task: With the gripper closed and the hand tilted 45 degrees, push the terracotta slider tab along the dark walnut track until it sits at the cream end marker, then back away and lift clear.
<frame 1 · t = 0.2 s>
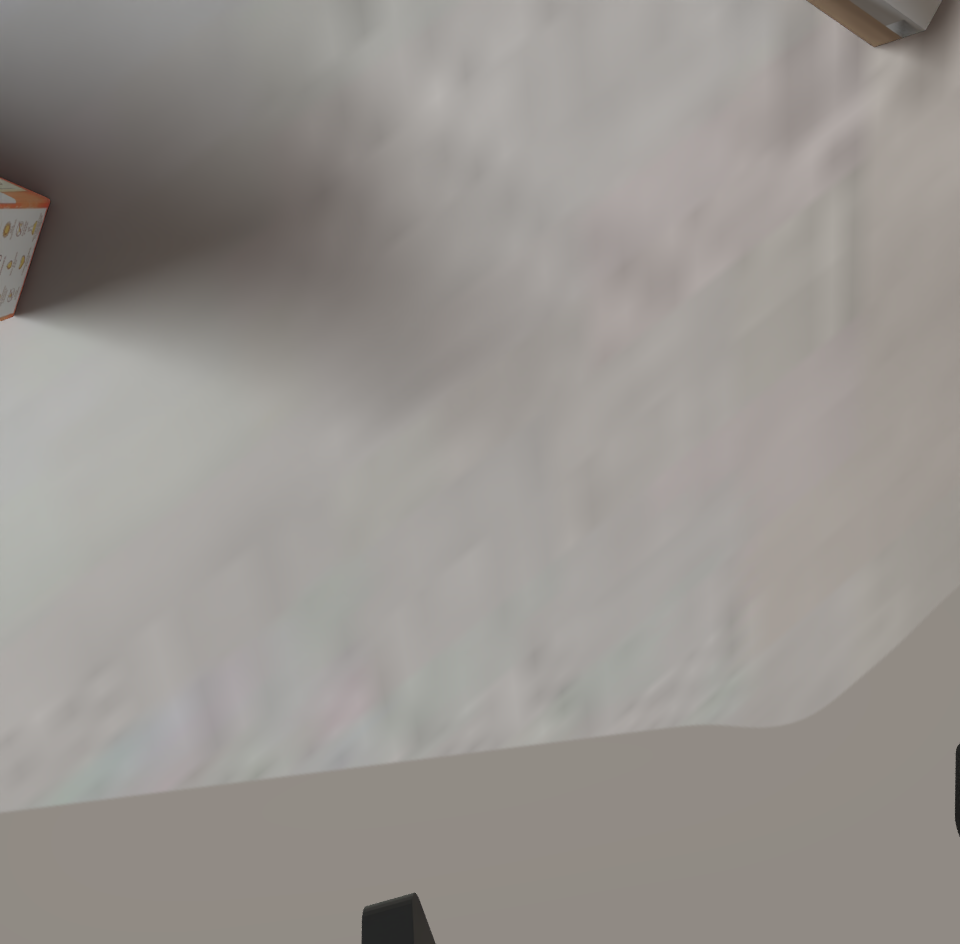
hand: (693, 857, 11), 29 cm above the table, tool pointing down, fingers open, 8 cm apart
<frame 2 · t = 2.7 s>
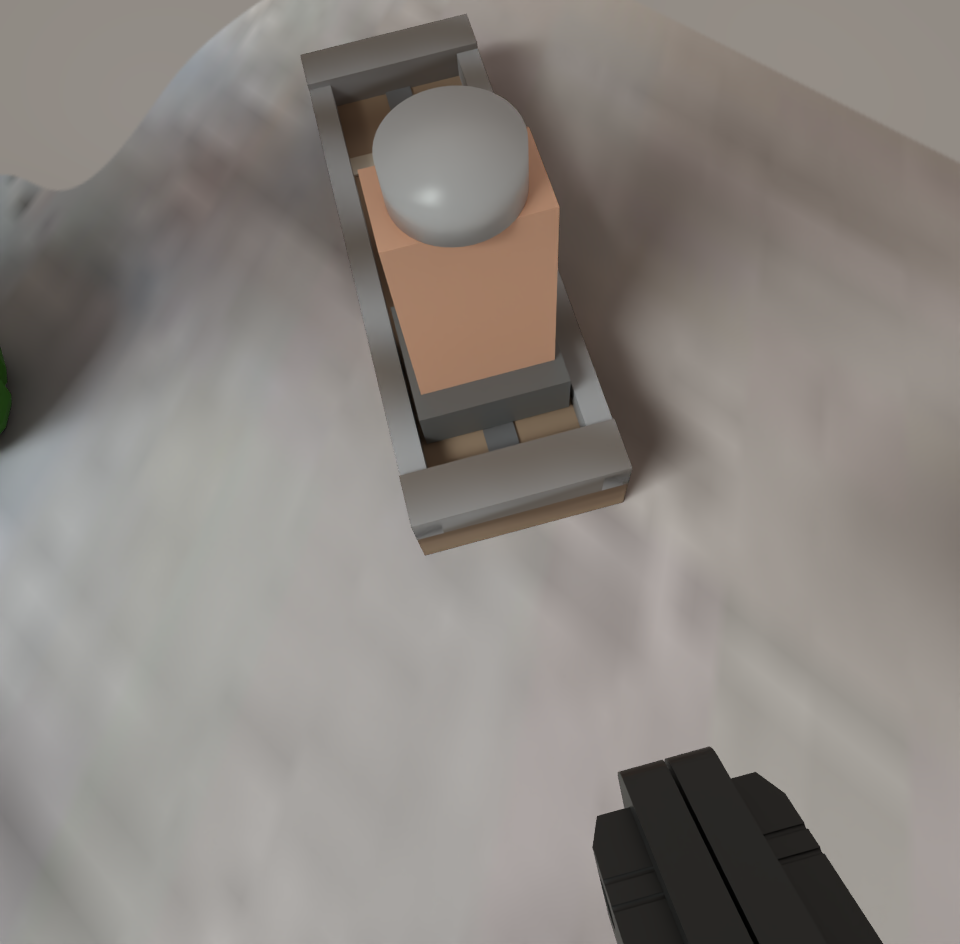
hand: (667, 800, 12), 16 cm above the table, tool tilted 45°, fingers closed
slider tab: (469, 280, 25), point 8 cm above the table, slide at -6.0 cm
fader track: (451, 283, 35), on the table
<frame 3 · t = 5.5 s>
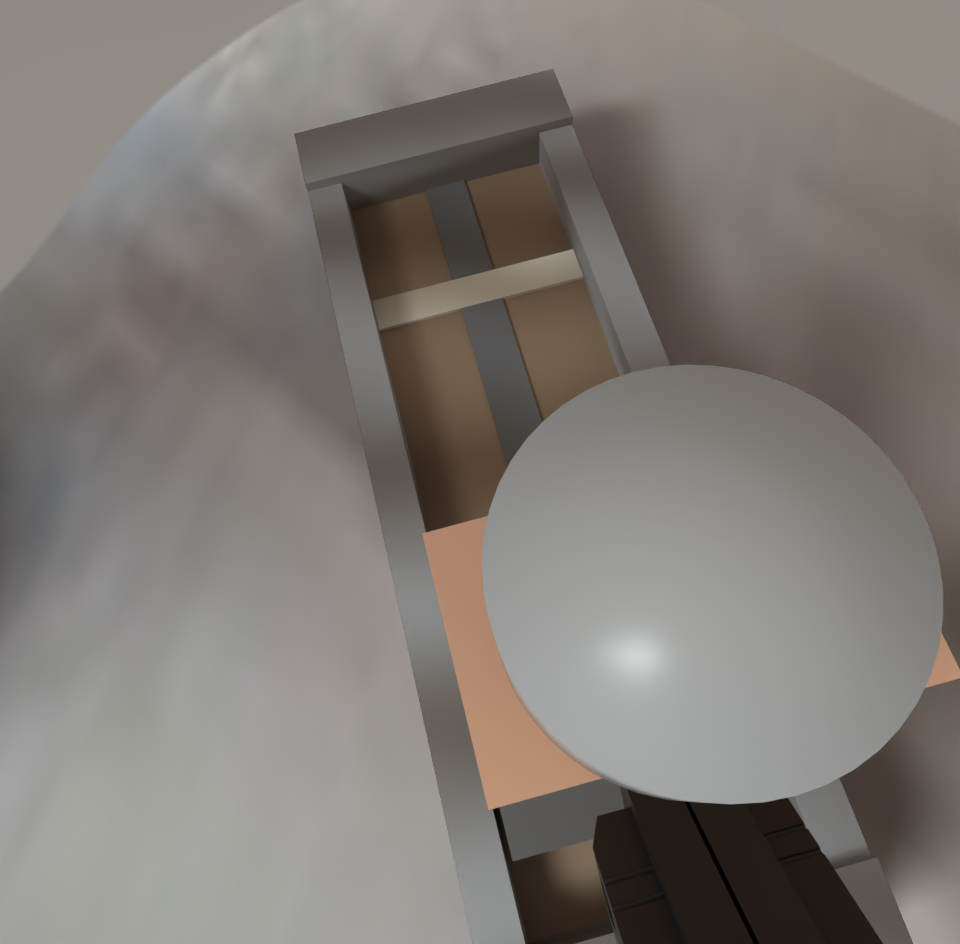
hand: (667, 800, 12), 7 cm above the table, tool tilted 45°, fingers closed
slider tab: (634, 661, 12), point 8 cm above the table, slide at -5.8 cm, touching gripper
fader track: (535, 503, 22), on the table
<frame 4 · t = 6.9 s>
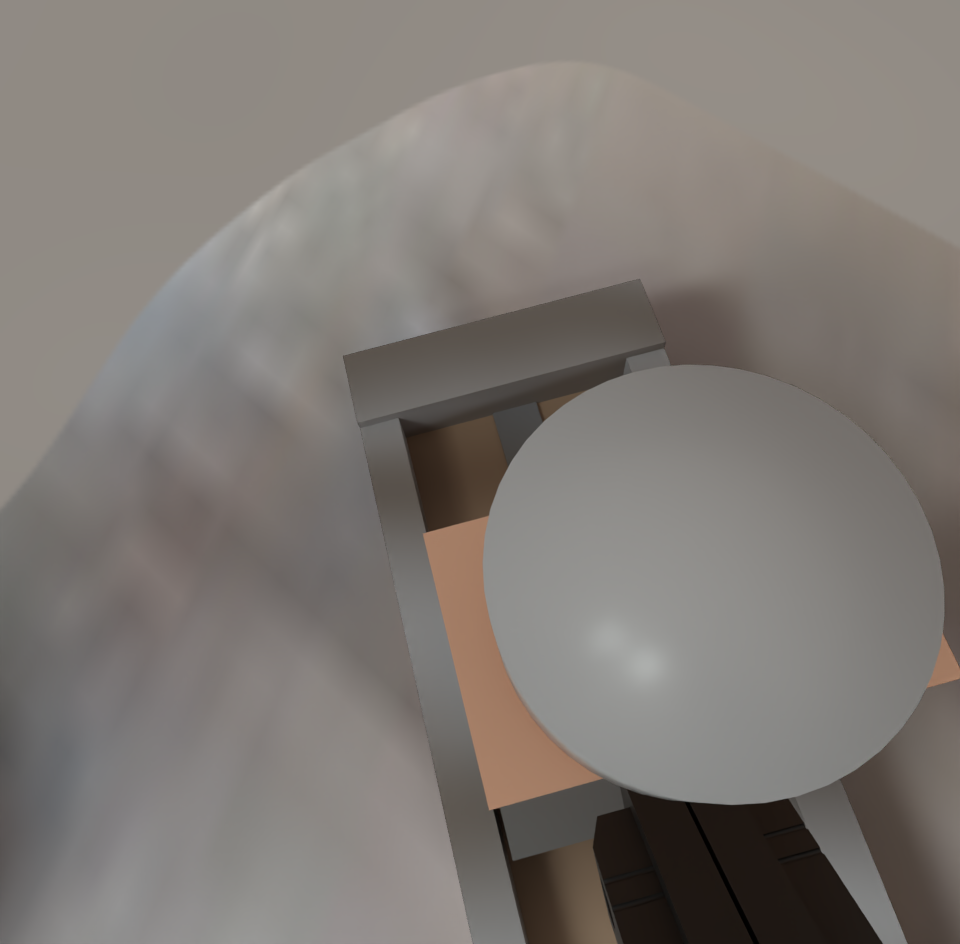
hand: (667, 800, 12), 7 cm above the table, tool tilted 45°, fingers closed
slider tab: (634, 661, 12), point 8 cm above the table, slide at 2.2 cm, touching gripper
fader track: (626, 800, 19), on the table
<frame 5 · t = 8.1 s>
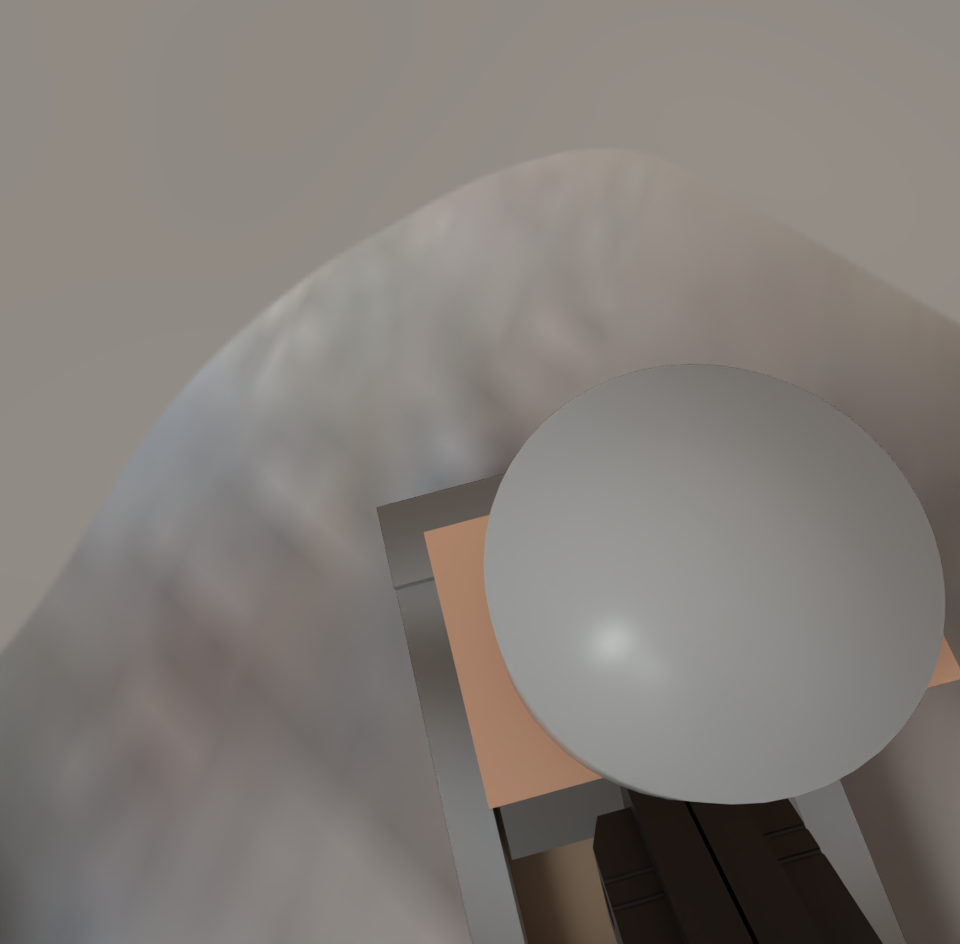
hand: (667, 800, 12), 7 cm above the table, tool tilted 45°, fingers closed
slider tab: (634, 660, 12), point 8 cm above the table, slide at 6.5 cm, touching gripper
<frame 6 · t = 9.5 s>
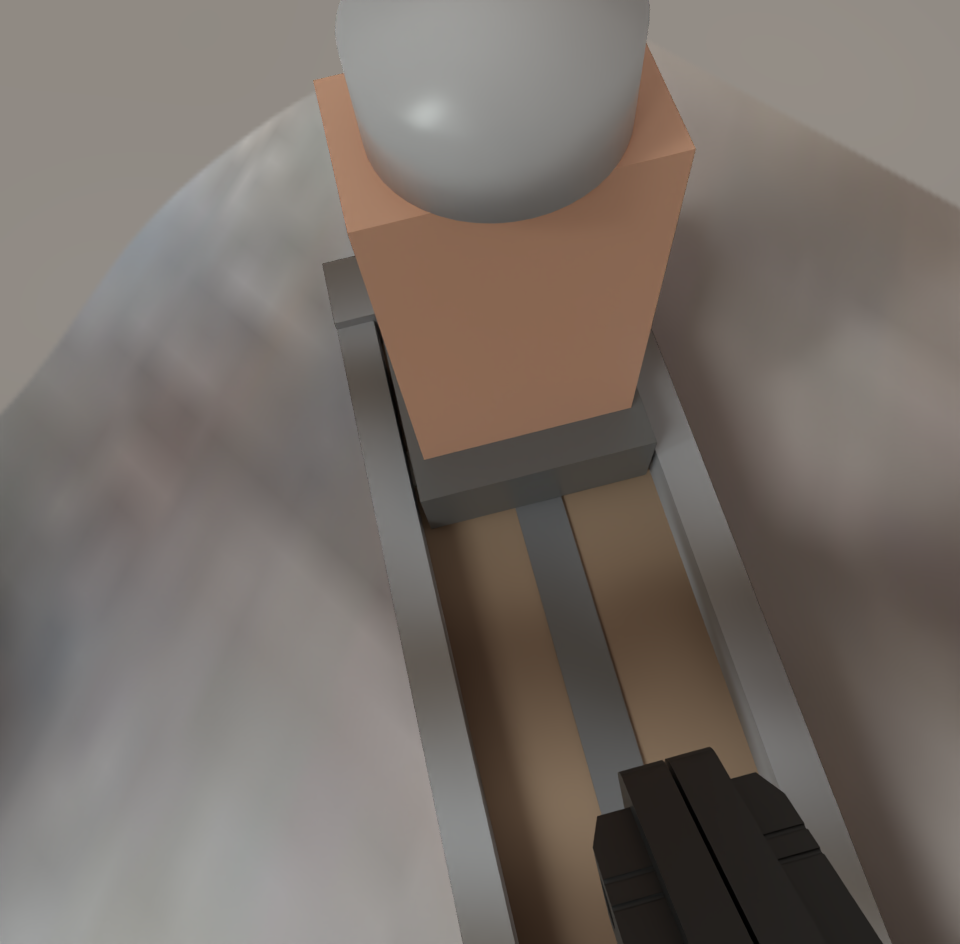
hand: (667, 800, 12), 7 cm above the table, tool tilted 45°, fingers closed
slider tab: (506, 284, 15), point 8 cm above the table, slide at 6.7 cm
fader track: (581, 677, 20), on the table
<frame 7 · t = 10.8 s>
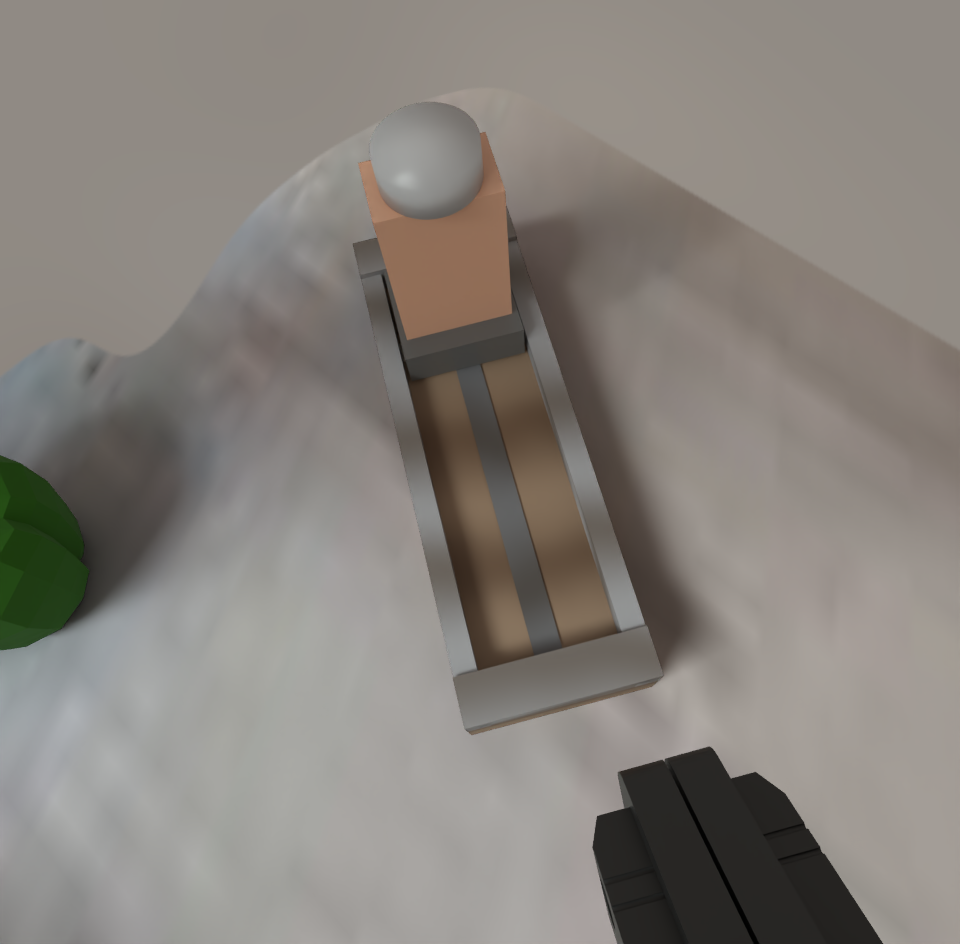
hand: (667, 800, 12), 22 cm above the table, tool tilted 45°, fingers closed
slider tab: (443, 248, 33), point 8 cm above the table, slide at 6.7 cm
bell pepper: (38, 581, 38), on the table
fader track: (492, 462, 38), on the table
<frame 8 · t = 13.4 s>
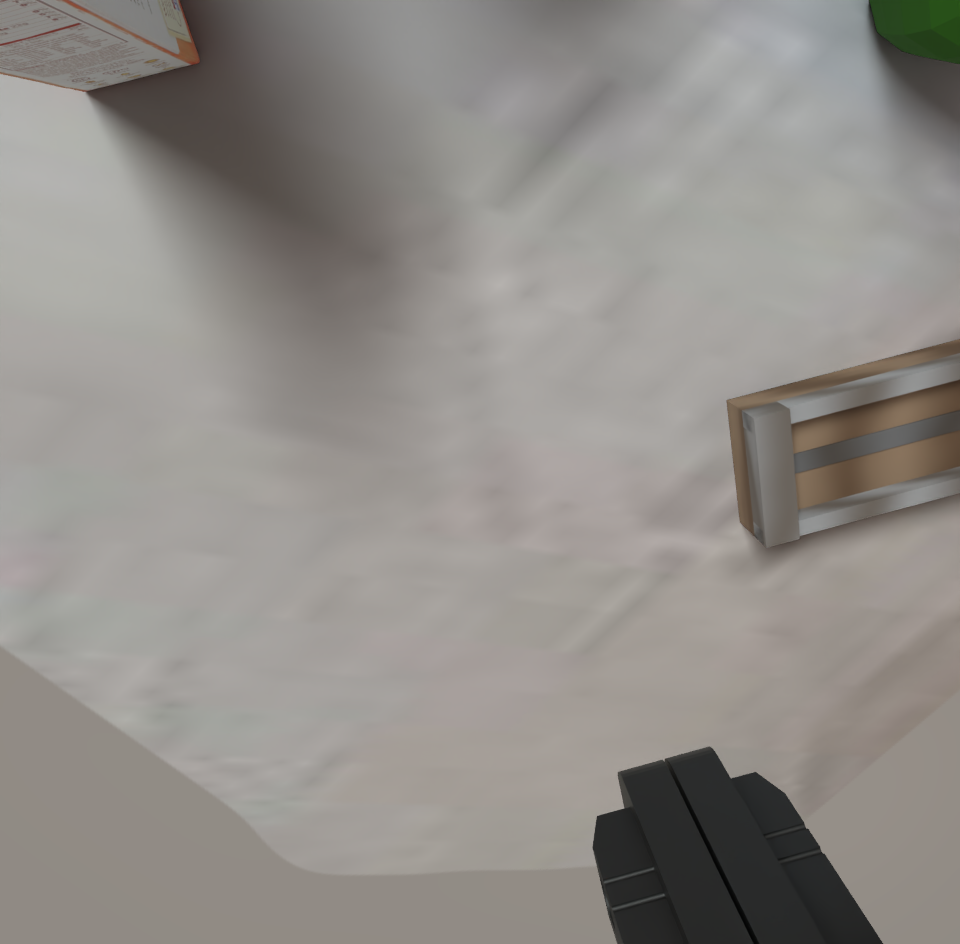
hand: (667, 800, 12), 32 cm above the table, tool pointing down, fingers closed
fader track: (925, 412, 47), on the table
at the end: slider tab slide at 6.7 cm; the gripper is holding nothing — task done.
